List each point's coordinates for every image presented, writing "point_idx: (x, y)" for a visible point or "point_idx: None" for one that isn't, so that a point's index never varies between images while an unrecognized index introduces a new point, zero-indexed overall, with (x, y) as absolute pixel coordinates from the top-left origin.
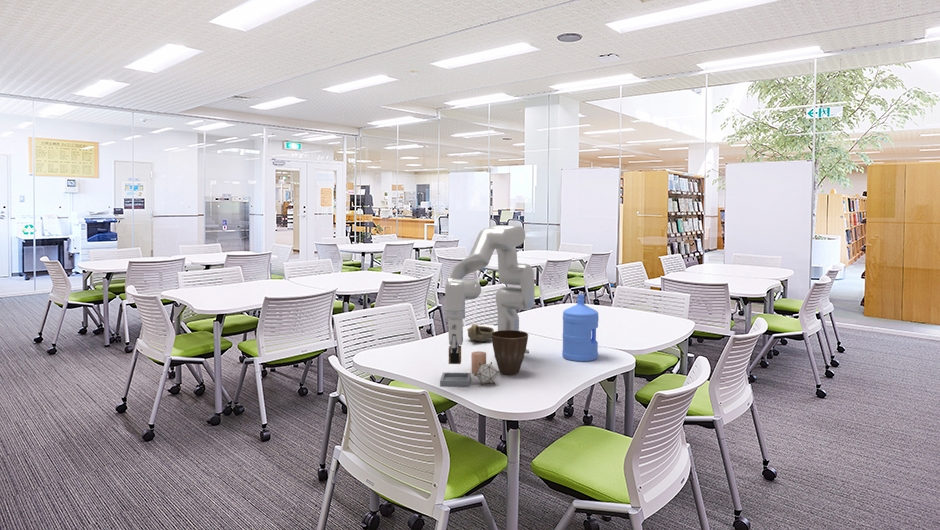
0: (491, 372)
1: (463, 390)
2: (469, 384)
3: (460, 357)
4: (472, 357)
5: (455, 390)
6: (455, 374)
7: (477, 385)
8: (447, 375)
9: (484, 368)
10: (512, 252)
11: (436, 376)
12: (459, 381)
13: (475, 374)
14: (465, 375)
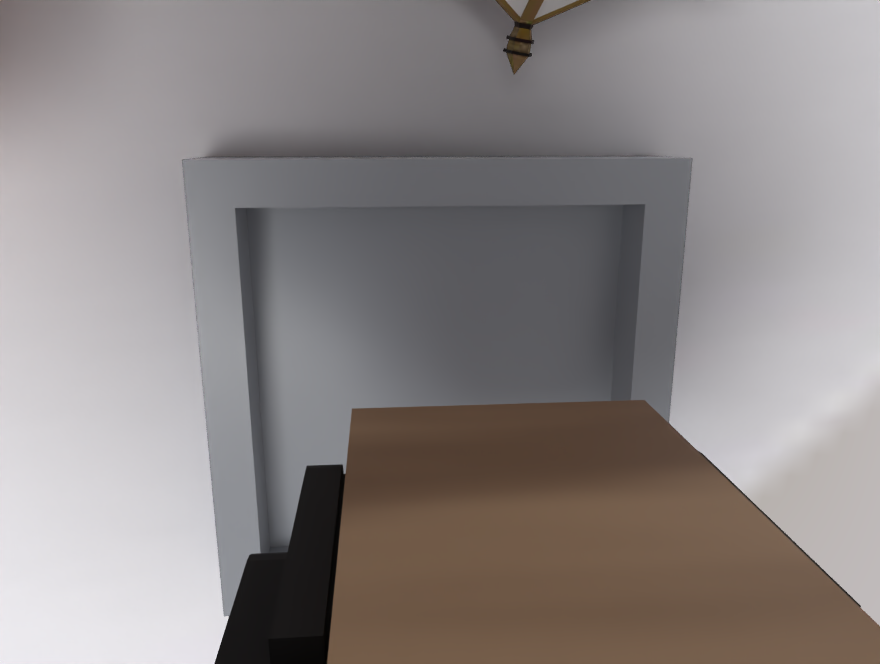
0: None
1: (829, 230)
2: (613, 156)
3: (712, 472)
4: None
5: (817, 338)
6: (253, 416)
7: (614, 25)
8: (264, 525)
9: None
10: None
11: (195, 654)
12: (675, 317)
13: (514, 44)
14: (246, 248)
